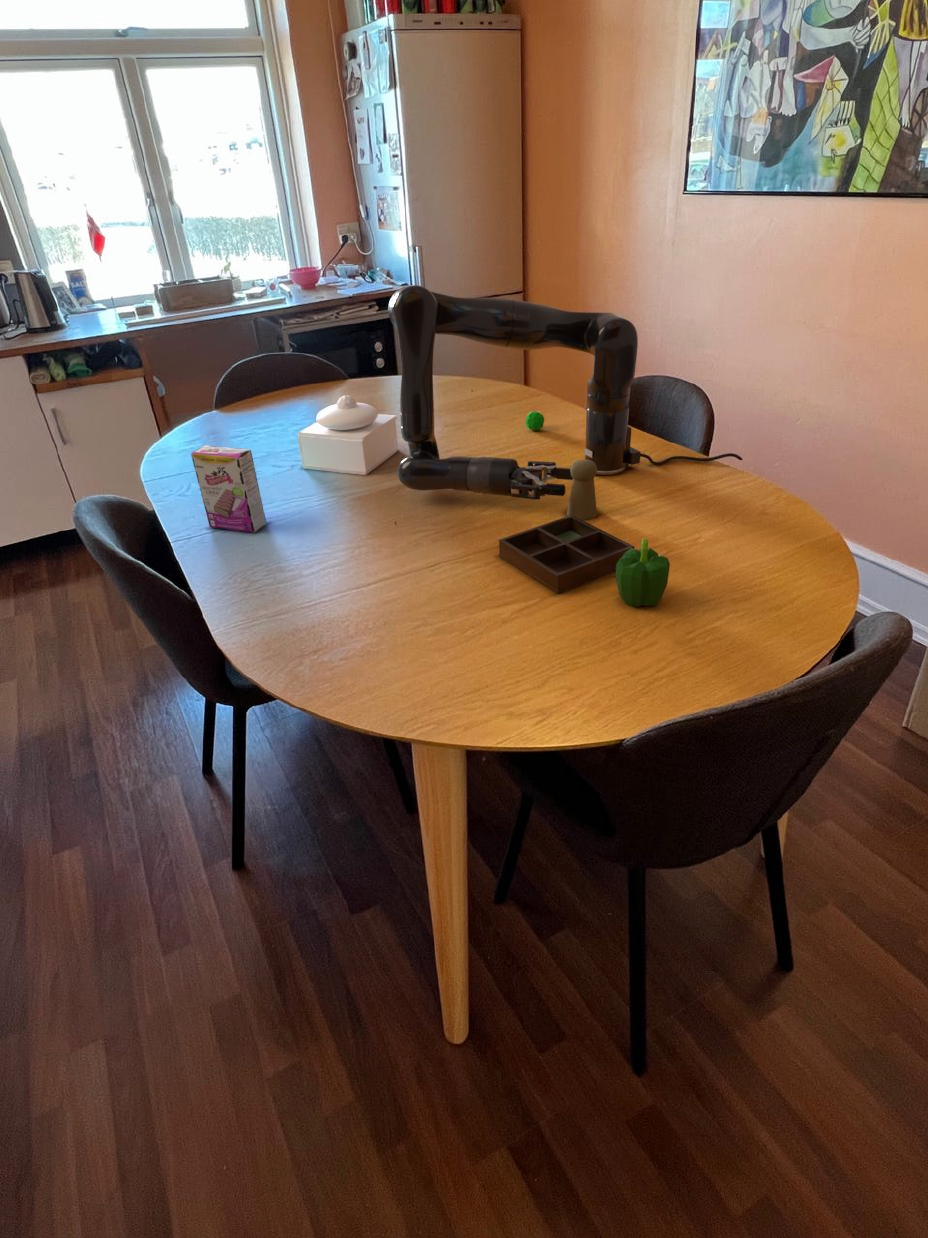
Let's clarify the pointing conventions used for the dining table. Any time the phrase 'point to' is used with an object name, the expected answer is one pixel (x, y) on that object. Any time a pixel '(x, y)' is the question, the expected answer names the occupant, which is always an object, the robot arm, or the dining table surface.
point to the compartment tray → (563, 552)
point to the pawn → (583, 490)
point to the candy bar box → (229, 488)
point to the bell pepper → (642, 576)
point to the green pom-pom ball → (534, 421)
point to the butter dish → (348, 438)
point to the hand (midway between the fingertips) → (569, 482)
